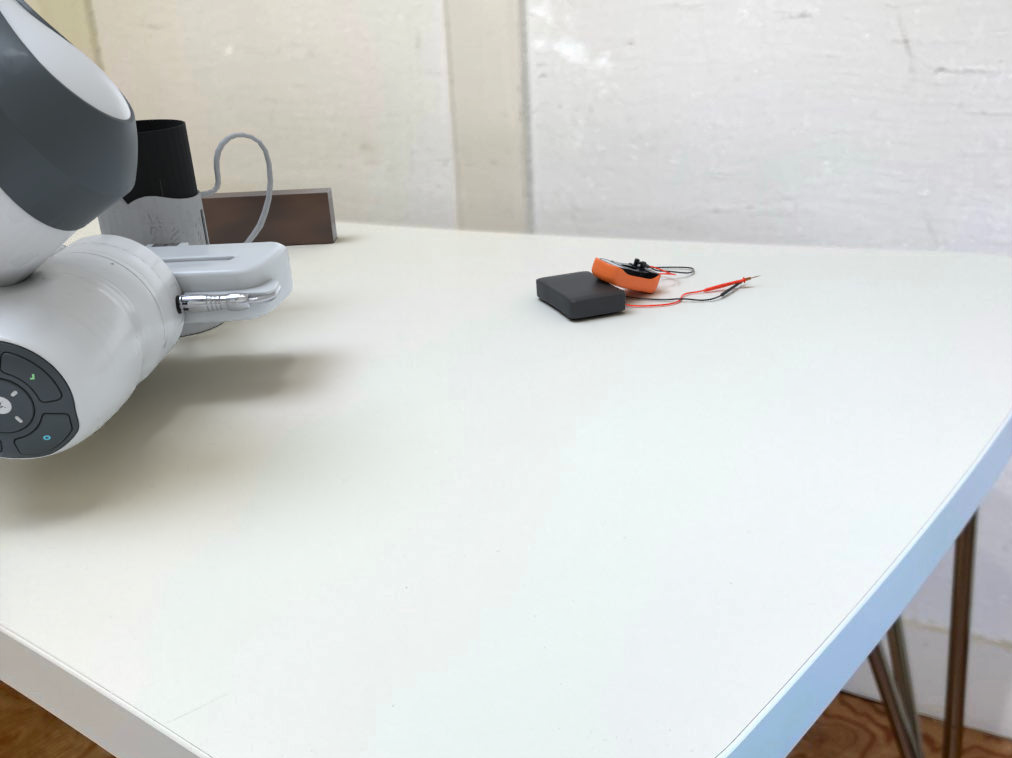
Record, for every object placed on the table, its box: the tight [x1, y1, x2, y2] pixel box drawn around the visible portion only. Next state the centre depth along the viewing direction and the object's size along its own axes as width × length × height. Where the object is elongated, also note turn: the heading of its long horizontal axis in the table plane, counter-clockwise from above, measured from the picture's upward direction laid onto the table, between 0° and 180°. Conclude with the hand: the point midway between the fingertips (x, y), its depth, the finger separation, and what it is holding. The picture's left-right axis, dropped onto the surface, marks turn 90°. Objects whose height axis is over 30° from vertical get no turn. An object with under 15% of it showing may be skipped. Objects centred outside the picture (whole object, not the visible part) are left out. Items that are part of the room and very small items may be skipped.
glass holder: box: [97, 118, 274, 337], centre depth 83 cm, size 9×14×15 cm, turn 116°
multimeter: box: [535, 256, 762, 320], centre depth 87 cm, size 18×12×3 cm, turn 107°
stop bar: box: [201, 187, 338, 246], centre depth 107 cm, size 14×2×5 cm, turn 90°
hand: (171, 253), depth 80 cm, fingers closed
